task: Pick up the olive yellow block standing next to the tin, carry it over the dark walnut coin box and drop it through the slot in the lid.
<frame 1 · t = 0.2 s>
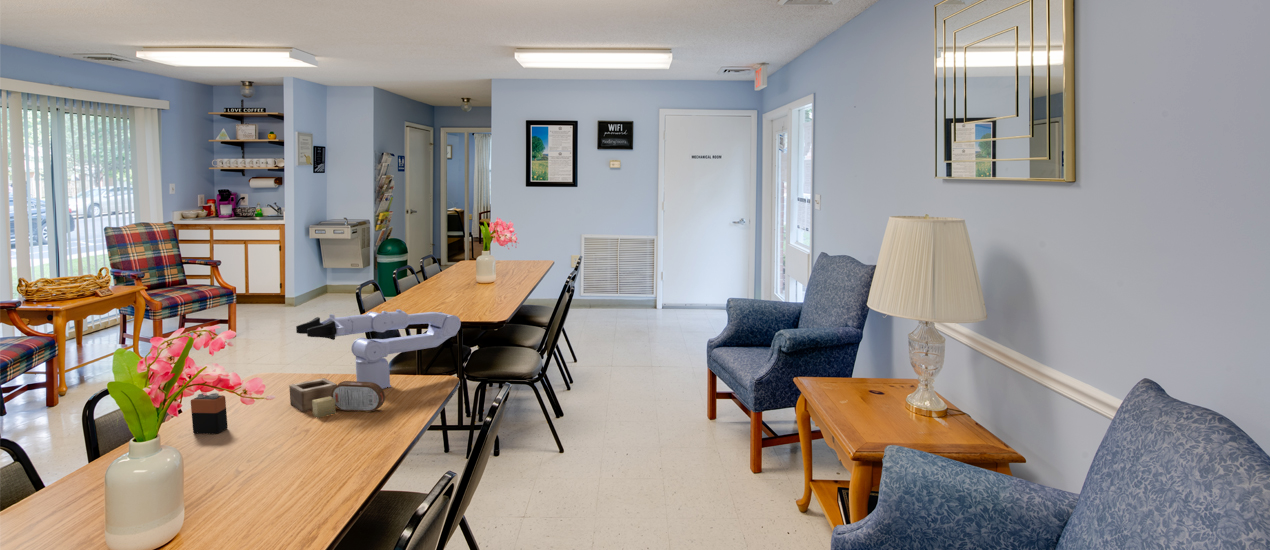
hand: (302, 331, 199), 21 cm above the table, tool horizontal, fingers open, 7 cm apart
coin box: (314, 404, 201), on the table
olive yellow block: (324, 414, 192), on the table
battery: (210, 431, 179), on the table
tin: (358, 411, 196), on the table
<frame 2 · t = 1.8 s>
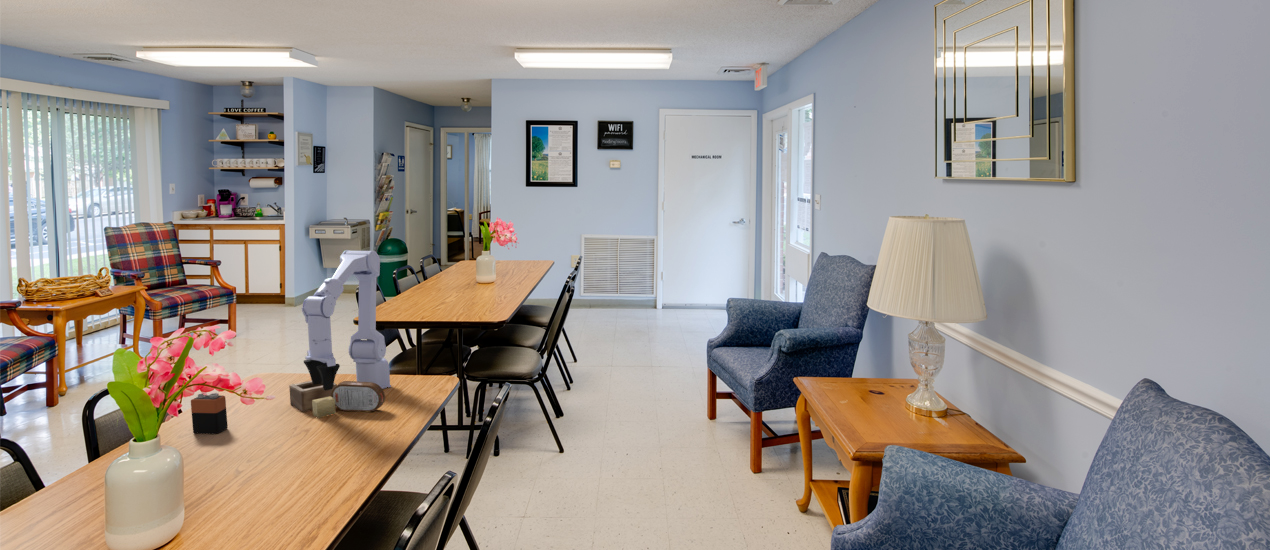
hand: (322, 386, 191), 8 cm above the table, tool pointing down, fingers open, 7 cm apart
nothing on the table moved.
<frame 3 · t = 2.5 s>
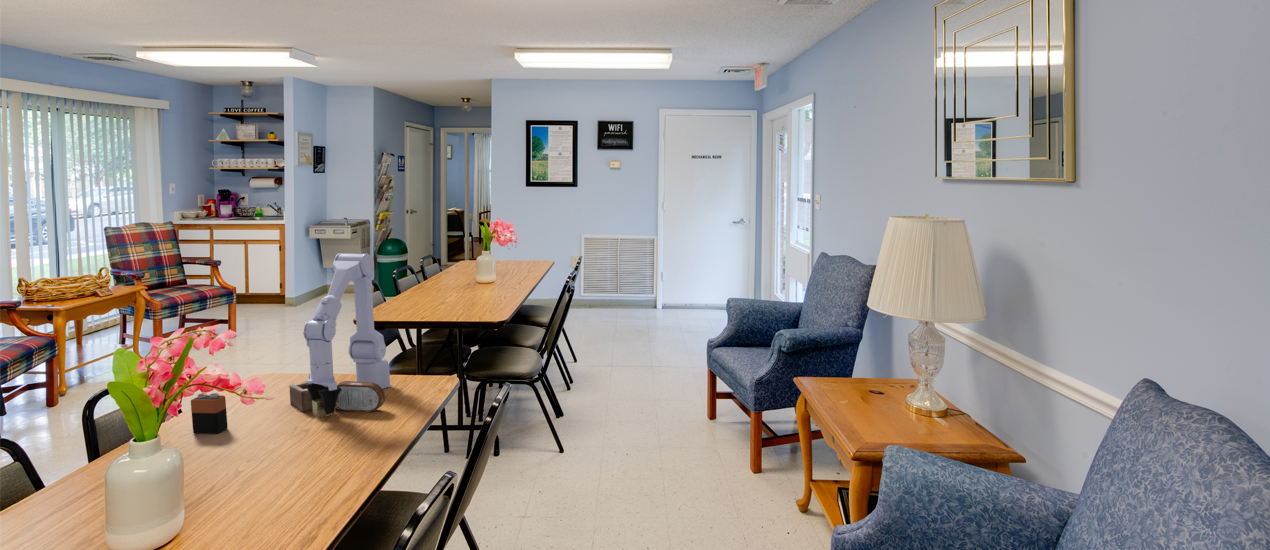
hand: (324, 409, 192), 1 cm above the table, tool pointing down, fingers open, 7 cm apart
nothing on the table moved.
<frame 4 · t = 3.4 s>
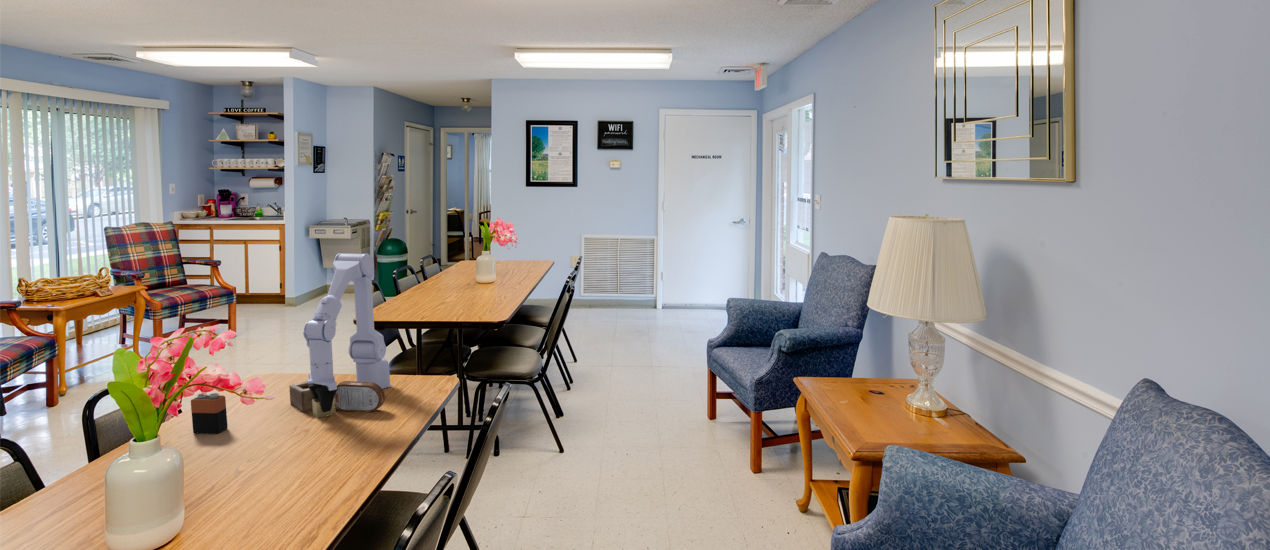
hand: (324, 409, 192), 1 cm above the table, tool pointing down, fingers closed on olive yellow block, 3 cm apart
olive yellow block: (324, 414, 192), on the table, touching gripper
everything else where it was.
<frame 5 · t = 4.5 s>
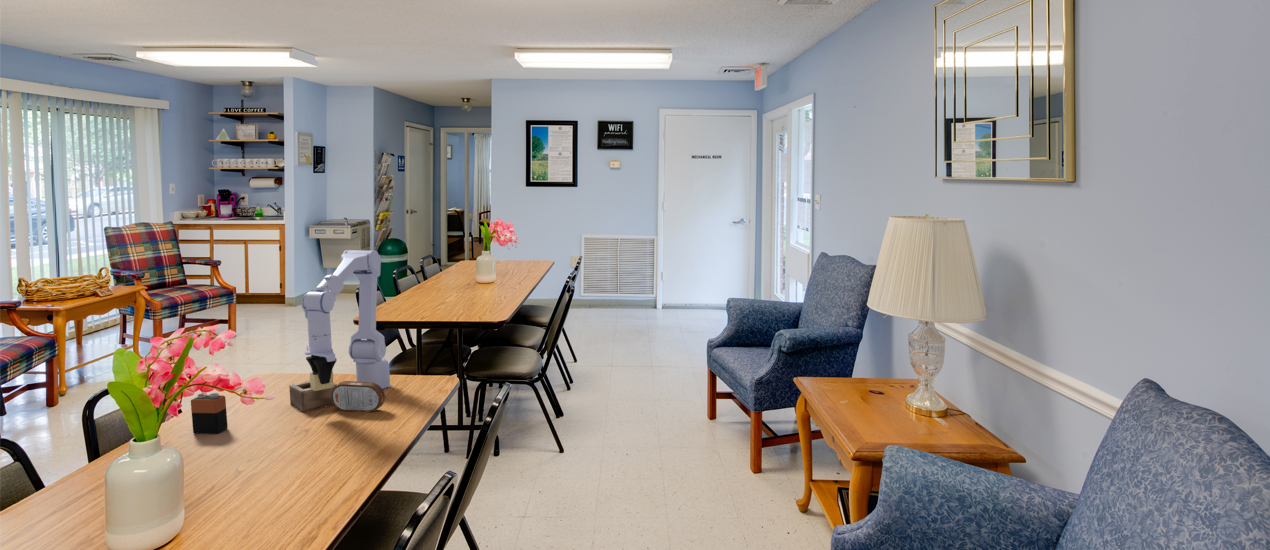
hand: (322, 382, 191), 9 cm above the table, tool pointing down, fingers closed on olive yellow block, 3 cm apart
olive yellow block: (322, 387, 191), point 8 cm above the table, touching gripper
everything else where it was.
when the fingers open (9 cm above the table, at t = 5.8 s): olive yellow block drops 7 cm, resting on coin box.
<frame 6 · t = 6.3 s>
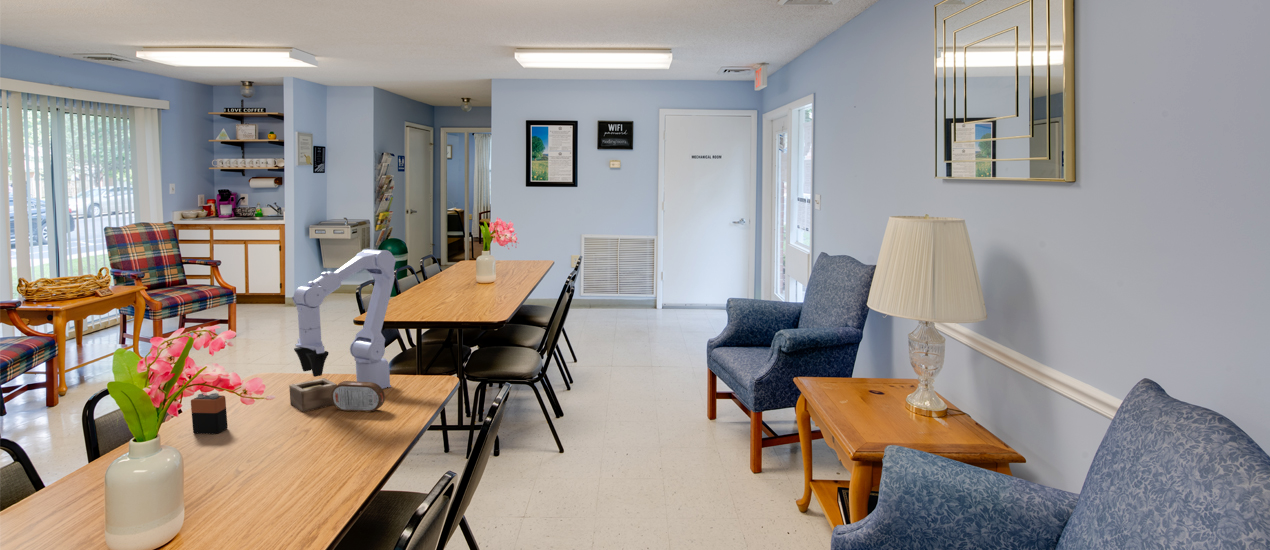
hand: (312, 373, 199), 9 cm above the table, tool pointing down, fingers open, 7 cm apart
olive yellow block: (314, 402, 201), resting on coin box
everything else where it was.
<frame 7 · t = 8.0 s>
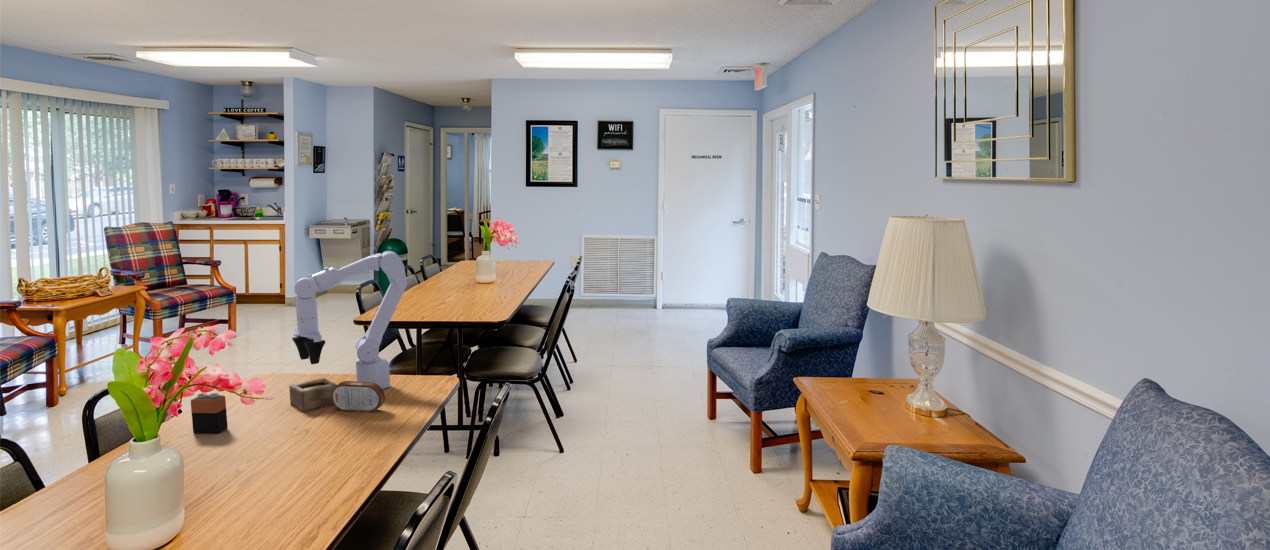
hand: (309, 361, 209), 10 cm above the table, tool pointing down, fingers open, 7 cm apart
nothing on the table moved.
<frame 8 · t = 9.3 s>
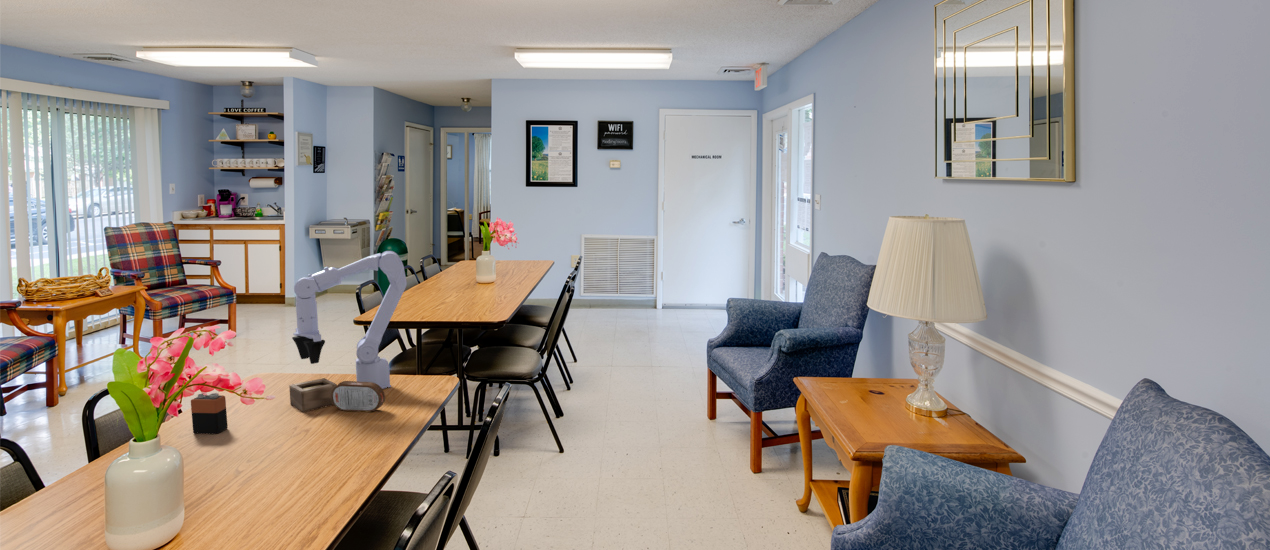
hand: (309, 360, 209), 10 cm above the table, tool pointing down, fingers open, 7 cm apart
nothing on the table moved.
at the end: olive yellow block inside the target area on the coin box (0.1 cm from its centre), point 0.5 cm above the coin box's base; the gripper is holding nothing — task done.
